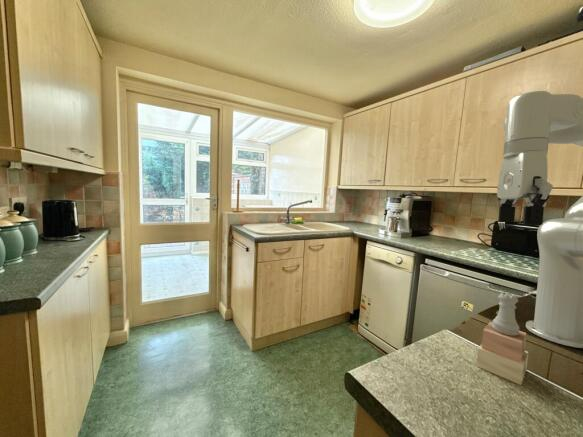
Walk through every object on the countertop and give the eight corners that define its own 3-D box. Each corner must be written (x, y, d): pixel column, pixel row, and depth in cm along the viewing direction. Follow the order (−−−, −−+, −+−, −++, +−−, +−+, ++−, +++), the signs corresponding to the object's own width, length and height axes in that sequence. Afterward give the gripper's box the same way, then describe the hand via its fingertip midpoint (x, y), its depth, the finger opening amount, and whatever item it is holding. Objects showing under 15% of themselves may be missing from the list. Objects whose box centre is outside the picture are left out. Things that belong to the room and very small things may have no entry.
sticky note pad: (485, 353, 57) (487, 320, 56) (526, 370, 52) (530, 333, 51) (476, 366, 52) (479, 329, 52) (521, 385, 47) (525, 344, 47)
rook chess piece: (525, 338, 49) (529, 299, 48) (499, 335, 50) (503, 296, 49) (510, 327, 53) (513, 291, 53) (486, 324, 54) (489, 289, 54)
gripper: (486, 157, 67) (481, 220, 68) (530, 141, 50) (523, 225, 51) (520, 156, 65) (514, 221, 66) (577, 140, 48) (568, 227, 49)
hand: (518, 223), depth 58 cm, fingers open, 9 cm apart
